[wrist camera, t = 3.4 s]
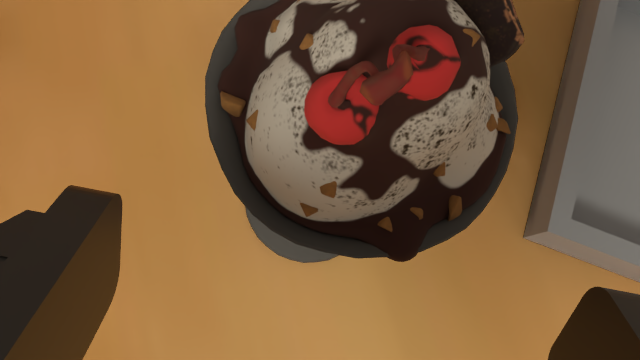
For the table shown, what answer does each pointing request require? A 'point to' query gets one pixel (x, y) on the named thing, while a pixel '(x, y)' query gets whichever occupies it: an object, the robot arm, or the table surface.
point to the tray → (595, 145)
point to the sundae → (363, 120)
